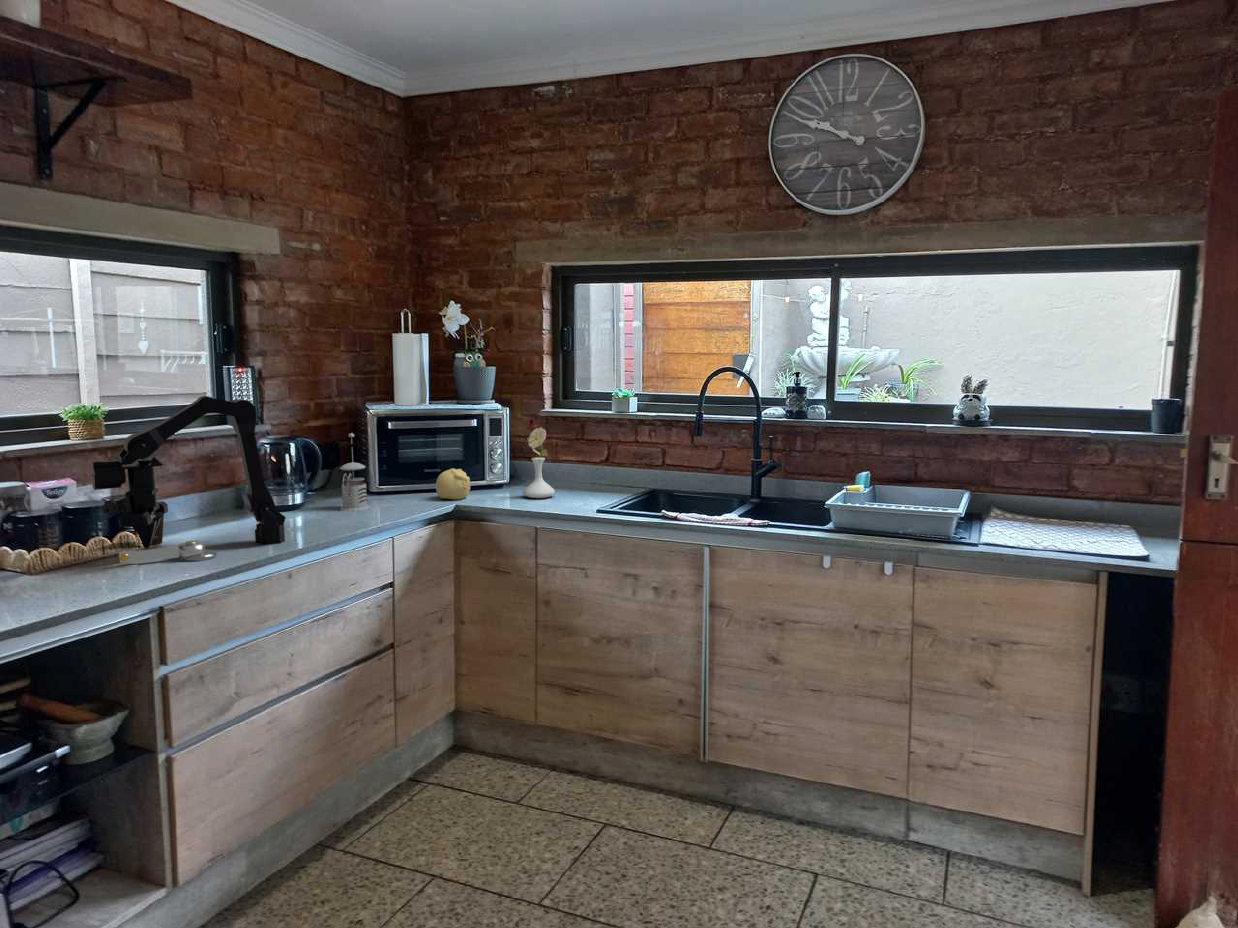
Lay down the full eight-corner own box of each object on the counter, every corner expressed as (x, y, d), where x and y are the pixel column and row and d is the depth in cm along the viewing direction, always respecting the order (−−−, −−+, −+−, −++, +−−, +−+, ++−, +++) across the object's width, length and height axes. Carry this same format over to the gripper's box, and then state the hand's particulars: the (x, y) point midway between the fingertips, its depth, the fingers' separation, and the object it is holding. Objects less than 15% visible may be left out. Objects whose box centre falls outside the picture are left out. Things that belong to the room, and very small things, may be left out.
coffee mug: (172, 543, 236) (169, 507, 235) (157, 551, 227) (154, 513, 226) (129, 544, 236) (126, 508, 234) (112, 551, 227) (108, 514, 226)
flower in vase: (518, 496, 308) (516, 426, 305) (548, 493, 313) (547, 424, 309) (530, 501, 296) (528, 429, 293) (561, 499, 301) (560, 427, 298)
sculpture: (472, 500, 299) (471, 469, 298) (436, 502, 297) (435, 471, 295) (470, 495, 310) (469, 465, 309) (436, 496, 308) (434, 466, 306)
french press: (374, 505, 291) (371, 431, 288) (361, 512, 280) (357, 435, 276) (346, 505, 292) (343, 431, 289) (332, 511, 280) (328, 435, 277)
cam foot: (214, 552, 221) (213, 536, 220) (218, 558, 214) (217, 542, 214) (119, 563, 210) (117, 546, 210) (119, 570, 204) (118, 553, 203)
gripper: (118, 481, 219) (123, 541, 221) (91, 493, 201) (97, 558, 203) (166, 479, 222) (170, 539, 224) (144, 491, 204) (149, 555, 206)
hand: (147, 547), depth 214 cm, fingers closed
